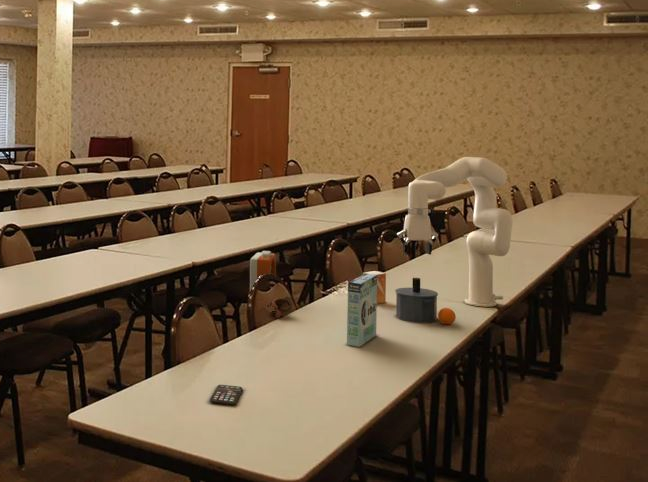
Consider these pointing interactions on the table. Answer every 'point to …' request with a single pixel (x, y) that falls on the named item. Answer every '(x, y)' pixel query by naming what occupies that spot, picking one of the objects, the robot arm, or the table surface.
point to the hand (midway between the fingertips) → (417, 254)
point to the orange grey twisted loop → (278, 308)
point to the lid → (416, 291)
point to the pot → (416, 308)
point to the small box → (380, 286)
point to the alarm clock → (262, 265)
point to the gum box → (361, 309)
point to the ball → (446, 316)
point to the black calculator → (226, 394)
